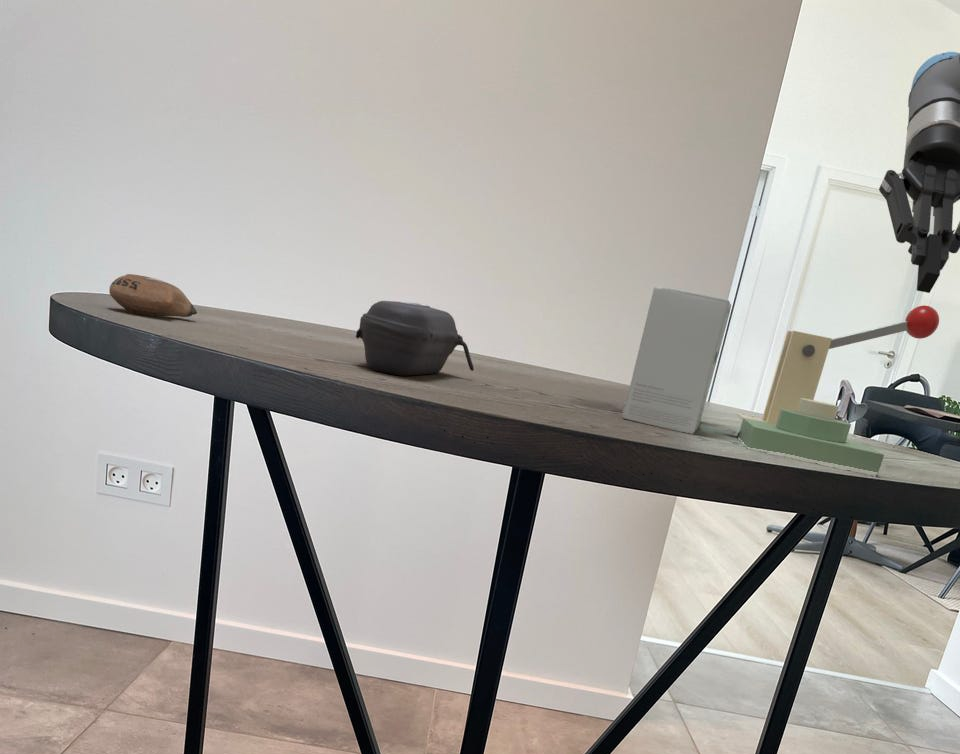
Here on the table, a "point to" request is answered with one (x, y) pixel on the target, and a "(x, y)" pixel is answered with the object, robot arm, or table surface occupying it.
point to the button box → (810, 440)
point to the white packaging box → (676, 359)
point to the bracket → (795, 373)
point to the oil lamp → (150, 297)
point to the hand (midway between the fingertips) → (928, 282)
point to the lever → (897, 327)
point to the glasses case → (408, 338)
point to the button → (817, 409)
